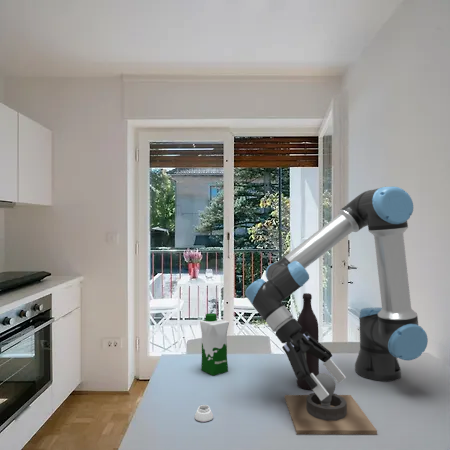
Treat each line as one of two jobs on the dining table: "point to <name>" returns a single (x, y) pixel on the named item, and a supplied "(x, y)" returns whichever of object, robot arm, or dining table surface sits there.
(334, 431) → the lamp holder
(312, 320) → the wine bottle
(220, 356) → the milk carton
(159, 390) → the dining table surface
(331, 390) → the light bulb
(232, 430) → the dining table surface
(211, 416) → the lidless jar
